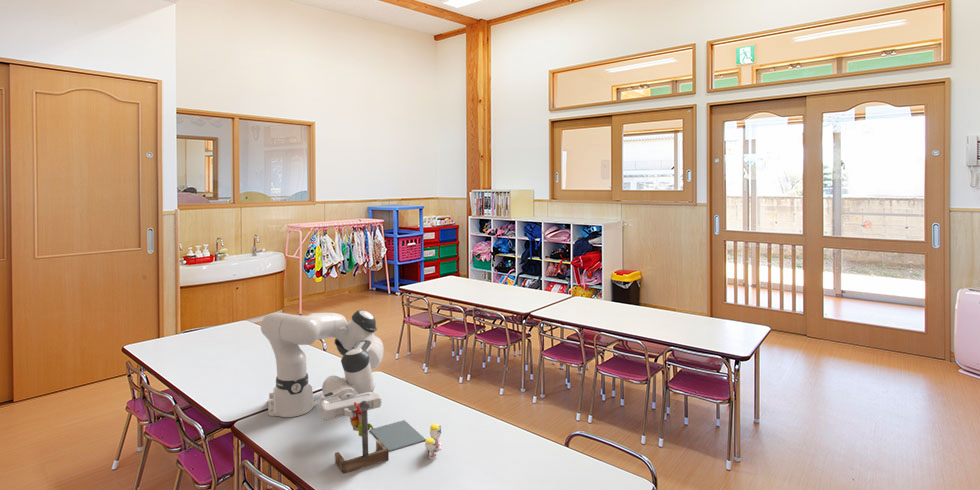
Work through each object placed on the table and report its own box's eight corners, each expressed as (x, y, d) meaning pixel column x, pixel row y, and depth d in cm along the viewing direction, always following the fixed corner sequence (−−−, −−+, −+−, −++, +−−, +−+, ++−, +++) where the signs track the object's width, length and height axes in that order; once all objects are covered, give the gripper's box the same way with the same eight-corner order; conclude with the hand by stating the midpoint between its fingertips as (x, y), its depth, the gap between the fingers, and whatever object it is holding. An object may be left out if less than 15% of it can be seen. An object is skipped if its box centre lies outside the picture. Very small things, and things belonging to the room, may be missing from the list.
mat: (369, 430, 197) (369, 429, 197) (404, 421, 205) (404, 420, 205) (389, 451, 182) (389, 450, 182) (425, 440, 190) (425, 439, 190)
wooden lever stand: (335, 462, 175) (333, 398, 172) (379, 449, 183) (378, 388, 180) (344, 475, 168) (342, 408, 165) (389, 461, 176) (388, 397, 173)
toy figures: (436, 460, 177) (436, 437, 176) (423, 459, 177) (423, 436, 176) (444, 443, 189) (444, 420, 188) (432, 442, 189) (432, 419, 188)
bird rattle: (348, 440, 177) (364, 438, 171) (336, 409, 177) (351, 405, 172) (363, 431, 182) (378, 428, 176) (351, 401, 182) (366, 397, 176)
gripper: (373, 401, 193) (388, 415, 182) (316, 414, 182) (329, 430, 171) (373, 384, 193) (388, 397, 181) (316, 397, 181) (328, 412, 170)
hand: (359, 414), depth 176 cm, fingers closed on bird rattle, 2 cm apart
